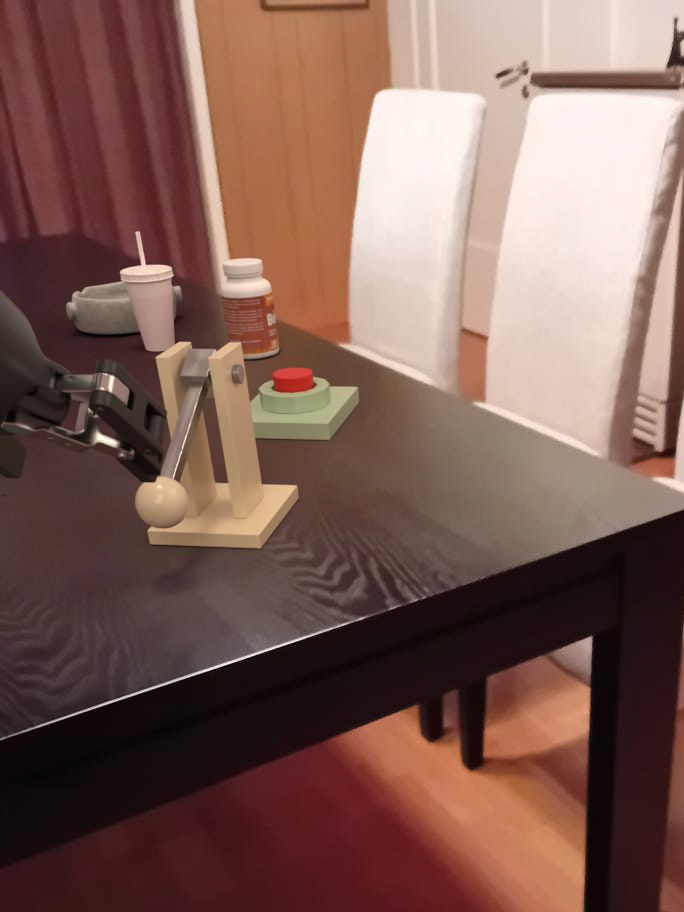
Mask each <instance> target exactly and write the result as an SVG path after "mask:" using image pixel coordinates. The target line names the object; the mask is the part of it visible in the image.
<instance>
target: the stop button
mask: <svg viewBox="0 0 684 912" xmlns="http://www.w3.org/2000/svg"><path fill="white" fill-rule="evenodd" d="M313 377H314V372H313V370H312V369H311V368H307V367H297V366H296V367H287V368H281V369H278V370H276V371H274V372H273V373H272V380H273V383H274V390H275V391H276V392H281V393H296V392H303V391H307V390H310V389H313V388H314V380H313Z"/></svg>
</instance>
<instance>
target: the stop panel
mask: <svg viewBox="0 0 684 912" xmlns="http://www.w3.org/2000/svg"><path fill="white" fill-rule="evenodd" d="M313 380H314V388H313V389H310V390H307V391H303V392H296V393H281V392H276V391H275V390H274V383H273V379H272V380H269V381H265V382H264V383H263V384H261V386H259V387H258V394H257V395H256V396H254V398H253V399H252V400H250V407H251V414H252V420H253V427H254V434H255V439H263V440H264V439H265V440H266V439H267V440H305V441H306V440H308V441H309V440H312V441H330V440H331V439H332V438H333V436H334V435H335V434H336V432H338V430H339V429H340V428H341V427H342V425H343V424H344V422H345V421H346V420H347V419H348V417H349V416H350V415H351V413H352V412H353V411H354V410H355V409H356V407H357V406H358V405H359V403H360V395H359V393H360V392H359V387H358V386H331V385H330V383H329V382H328V381H327V379H326V378H321V377H317V376H313Z"/></svg>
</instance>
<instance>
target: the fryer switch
mask: <svg viewBox="0 0 684 912" xmlns="http://www.w3.org/2000/svg"><path fill="white" fill-rule="evenodd" d="M188 349H193V346H192V342H191V341H178V342H177V343H175V345H174V346H172V347H171V348H169V349H167V350H165V351H162V352H161V353H160V354H158V355H157V356H155V362H156V368H157V374H158V378H159V383H160V388H161V394H162V399H163V406H164V408H165V409H166V410H167V418H166V422H167V425H168V430H169V435H170V440H171V439H172V436H173V433H174V430H175V427H176V424H177V421H178V418H179V415H180V412H181V408H182V405H183V402H184V399H185V396H186V393H187V390H186V388H185V386H184V384H183V382H182V380H181V378H180V373H181V370H182V367H183V364H184V361H185V358H186V355H187V352H188ZM208 361H209V367H210V374H211V380H212V386H213V392H214V398H213V399H214V403H215V404H214V405H215V409H216V416H217V422H218V428H219V434H220V441H221V447H222V453H223V459H224V465H225V471H226V477H227V482H216V480H215V475H214V469H213V461H212V456H211V450H210V445H209V439H208V434H207V433H208V432H207V427H206V422H205V416H204V408H203V409H202V412H201V415H200V418H199V422H198V425H197V428H196V431H195V434H194V438H193V441H192V444H191V447H190V451H189V454H188V457H187V460H186V463H185V467H184V470H183V473H182V476H181V479H180V484H181V485H182V486H183V488H184V489H185V490H186V492H187V495H188V498H189V509H188V512H187V515H186V516H185V518H184V519H183V520H182V521H181V522H180V523H179V524H177V525H176V526H174V527H171V528H166V529H161V528H155V527H152V526H150V527H149V528H148V529H147V530H146V532H147V536H148V540H149V541H148V542H149V545H155V546H156V545H158V546H159V545H160V546H180V547H181V546H182V547H184V546H185V547H208V548H211V547H212V548H233V549H236V548H237V549H262V547H264V545H265V544H266V543H267V541H268V540H269V538H270V537H271V536H272V535H273V533H274V532H275V531H276V529H277V528H278V527H279V525H280V524H281V523H282V521H283V520H284V519H285V517H286V516H287V515H288V513H289V512H290V511H291V509H292V508H293V507H294V505H295V504H296V503H297V501H298V500H299V498H300V497H299V488H298V485H297V484H295V485H294V484H265V483H263V484H262V477H261V470H260V461H259V456H258V449H257V442H256V438H255V434H254V427H253V420H252V414H251V407H250V402H251V400H250V393H249V386H248V380H247V379H248V378H247V372H246V365H245V359H243V352H242V345H241V343H240V342H229V343H228V342H227V343H226V344H225V345H224V346H222V347H220V348H219V349H218V350H217V352H215V353H214V354H213V355H211V356H210V357H209V358H208Z"/></svg>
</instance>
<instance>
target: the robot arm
mask: <svg viewBox="0 0 684 912" xmlns="http://www.w3.org/2000/svg"><path fill="white" fill-rule="evenodd" d="M72 401H76V402H77V403H78V407H79V408H78V413H77V419H76V423H75V429H74V431H72V430H70V429H68V428H64V427H63V426H64V424H65V421H66V420H67V419H66V418H67V416H68V413H69V411H70V408H71V405H72ZM101 421H103V422H104V423H105V424H106V425H107V426H108V427H110V428H111V429H112V430H113V431H114V435H113V437H110V436H107V435H105V434H102V433H101V432H100V429H99V427H100V422H101ZM166 422H167V410H166V409H165V406H164V405H162V404H161V403H160V402H159V401H158V400H157V399H156V398H154V396H153V395H152V394H151V393H150V392H149V391H148V390H147V389H146V388H145V387H144V386H143V385H142V384H141V383H140V382H139V381H138V380H137V379H135V377H134V376H132V375H131V374H130V372H129V371H128V370H126V369H125V368H124V366H123V365H121V364H120V363H119V362H117V361H116V360H112V359H108V358H100V359H97V360H96V363H95V369H94V373H92V374H91V373H90V374H89V373H88V374H72V373H71V371H69V370H68V369H67V368H66V367H64V366H63V365H61V364H59V363H57V362H55V361H54V360H52V359H50V358H48V357H47V356H45V355H44V353H43V351H42V349H41V346H40V344H39V342H38V339H37V337H36V334H35V332H34V330H33V327H32V326H31V323H30V321H29V319H28V318H27V317H26V315H25V314H24V313H23V311H22V310H21V309H20V308H19V307H18V306H17V305H16V304H15V303H14V302H13V301H12V300H11V299H10V298H9V297H8V295H6V294H5V293H4V292H3V291H2V290H1V289H0V475H1V476H2V477H3V478H5V479H15V480H18V479H20V478H21V477H22V475H23V471H24V466H25V461H26V456H27V449H26V448H27V447H26V445H25V444H24V443H23V442H22V441H20V440H19V439H18V438H16V437H15V436H19V437H22V438H26V439H28V438H31V437H34V438H38V439H41V440H43V441H46V442H49V443H50V444H51V443H52V444H54V445H57V446H59V447H62V448H65V449H68V450H71V451H73V452H76V453H84V452H86V451H87V450H89V449H92V450H96V451H98V452H101V453H104V454H106V455H108V456H111V457H114V458H115V460H116V461H117V462H119V463H120V464H121V465H122V466H123V467H124V468H125V469H126V470H128V471H129V472H130V473H131V474H132V475H133V476H134V477H135V478H136V479H137V480H138V481H139V482H141V483H144V482H146V483H154V482H156V480H157V477H158V476H160V475H161V470H162V467H163V464H164V459H165V448H164V447H163V441H164V434H165V428H166Z"/></svg>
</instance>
